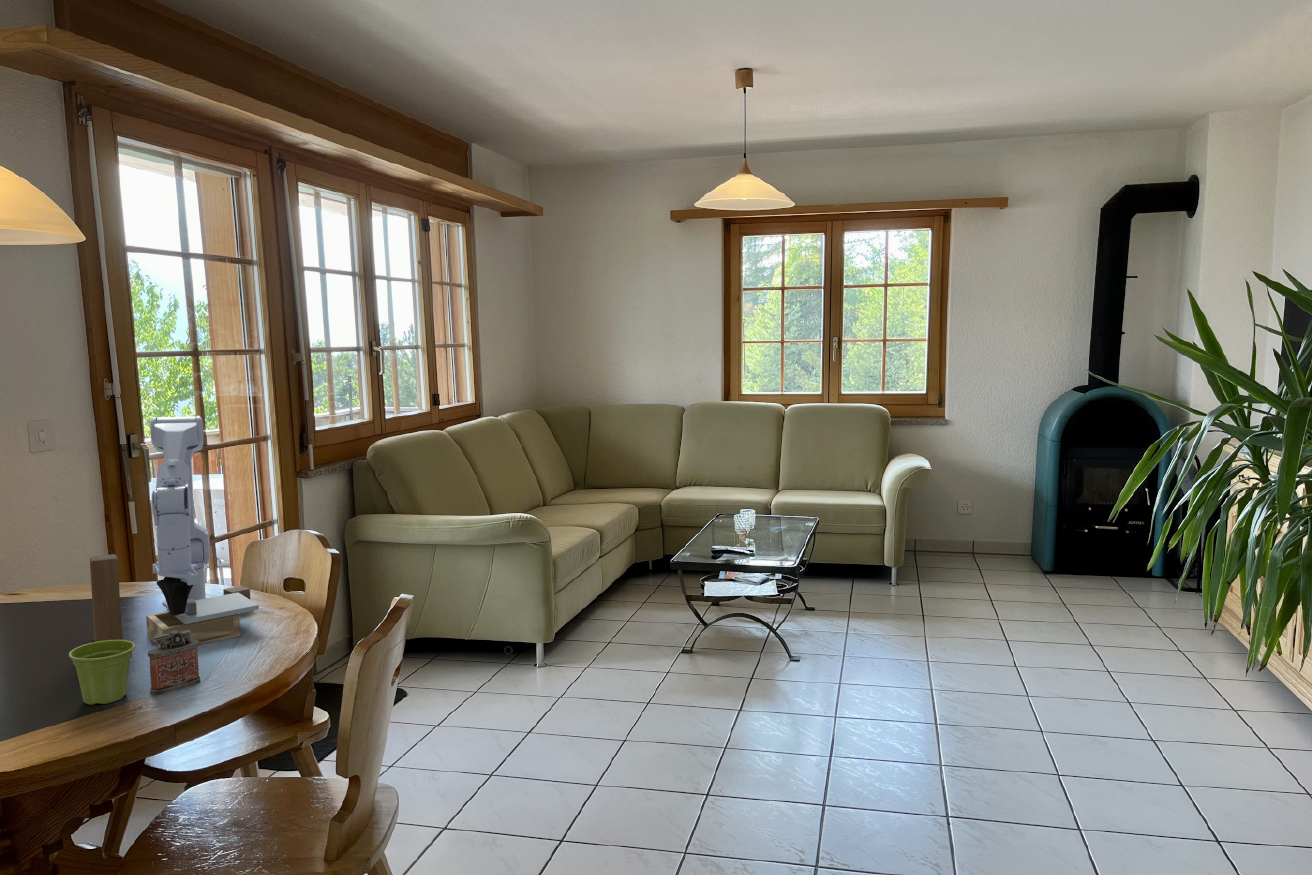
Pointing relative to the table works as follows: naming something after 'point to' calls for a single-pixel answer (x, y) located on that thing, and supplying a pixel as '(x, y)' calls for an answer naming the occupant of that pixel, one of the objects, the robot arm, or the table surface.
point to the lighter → (173, 663)
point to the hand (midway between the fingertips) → (177, 613)
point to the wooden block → (105, 598)
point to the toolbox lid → (216, 607)
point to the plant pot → (103, 669)
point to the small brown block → (238, 591)
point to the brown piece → (194, 627)
